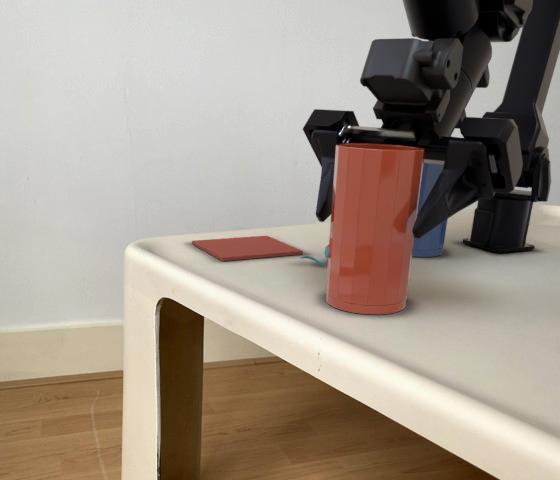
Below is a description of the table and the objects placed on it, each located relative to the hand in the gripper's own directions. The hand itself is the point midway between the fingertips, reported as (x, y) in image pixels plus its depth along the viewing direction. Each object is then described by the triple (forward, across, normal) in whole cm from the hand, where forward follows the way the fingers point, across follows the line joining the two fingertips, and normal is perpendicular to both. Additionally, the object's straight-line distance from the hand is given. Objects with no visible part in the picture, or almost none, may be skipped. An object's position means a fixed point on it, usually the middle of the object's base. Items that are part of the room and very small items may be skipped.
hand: (364, 226), depth 52 cm
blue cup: (-12, -7, +22) cm, 26 cm away
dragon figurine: (-4, -10, +15) cm, 18 cm away
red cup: (+4, 0, +6) cm, 7 cm away
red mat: (-2, -21, +12) cm, 24 cm away
